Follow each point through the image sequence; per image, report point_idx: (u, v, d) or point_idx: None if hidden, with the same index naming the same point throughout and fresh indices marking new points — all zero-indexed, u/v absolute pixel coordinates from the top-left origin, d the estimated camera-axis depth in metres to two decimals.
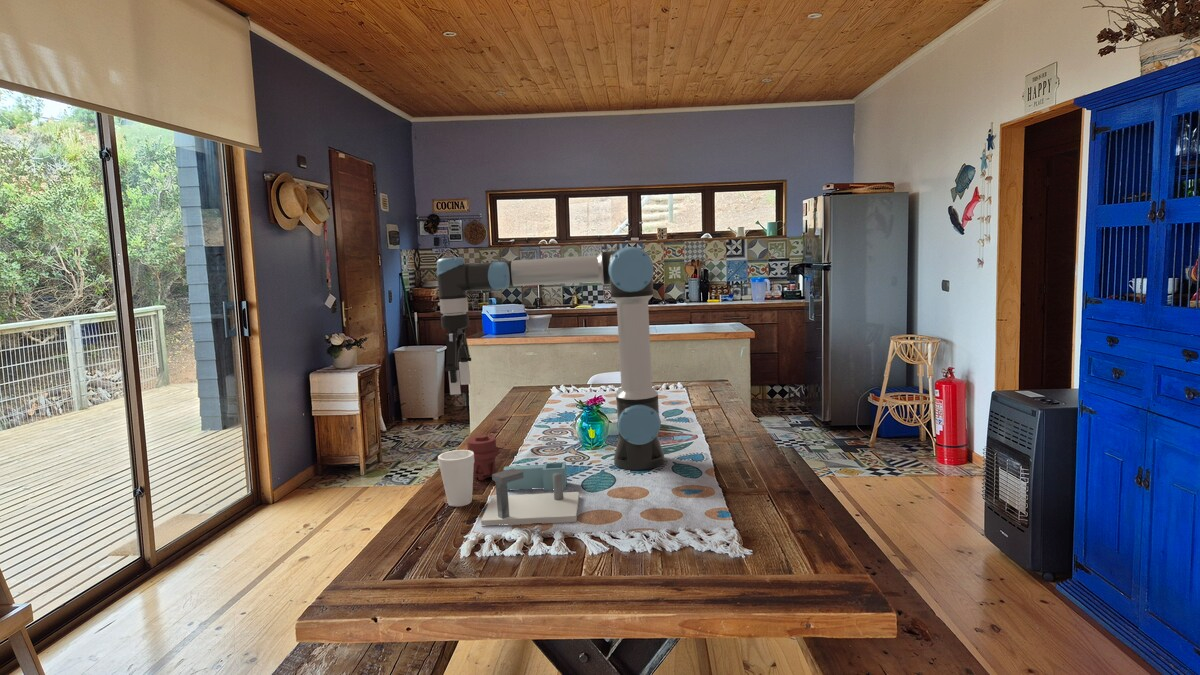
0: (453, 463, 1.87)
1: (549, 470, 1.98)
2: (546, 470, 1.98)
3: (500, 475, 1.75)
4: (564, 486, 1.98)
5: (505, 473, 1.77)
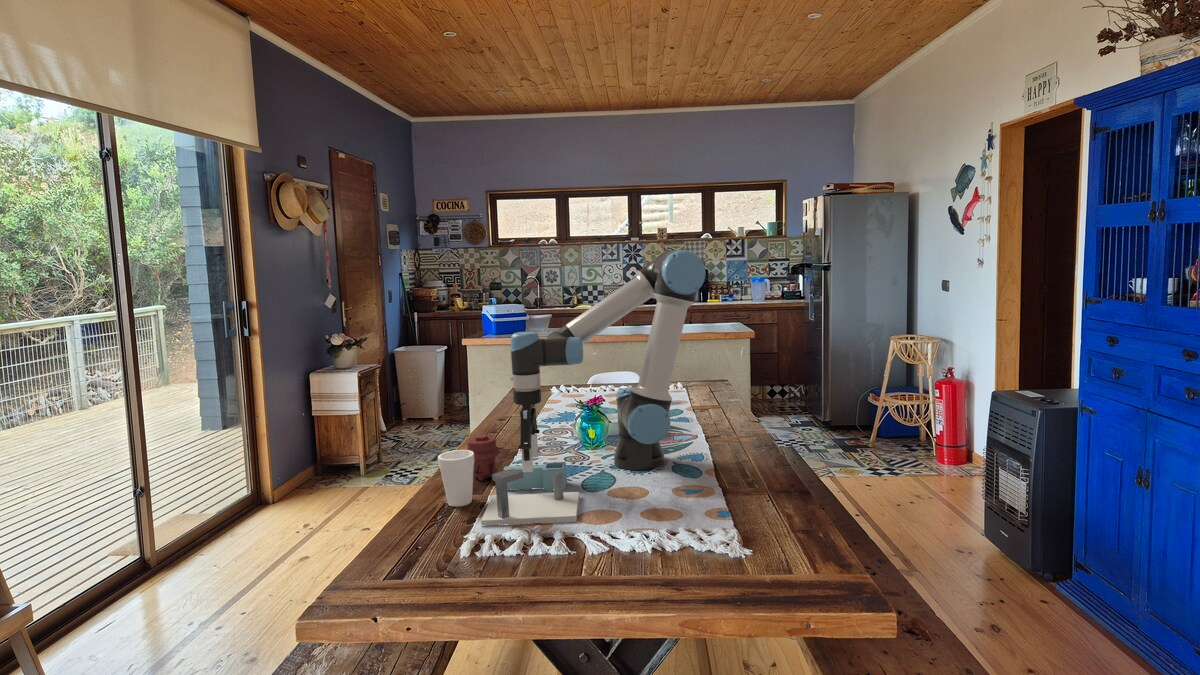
0: (453, 463, 1.87)
1: (549, 470, 1.98)
2: (546, 470, 1.98)
3: (500, 475, 1.75)
4: (564, 486, 1.98)
5: (505, 473, 1.77)
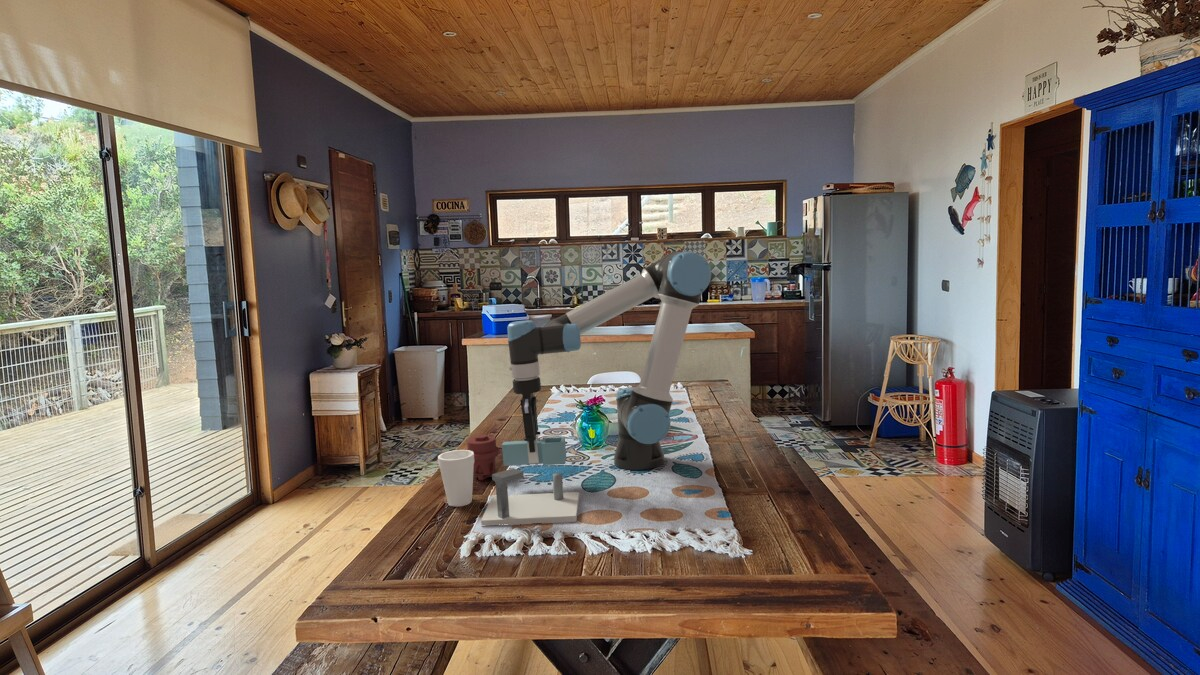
0: (453, 463, 1.87)
1: (548, 444, 1.97)
2: (545, 444, 1.97)
3: (500, 475, 1.75)
4: (563, 460, 1.98)
5: (505, 473, 1.77)
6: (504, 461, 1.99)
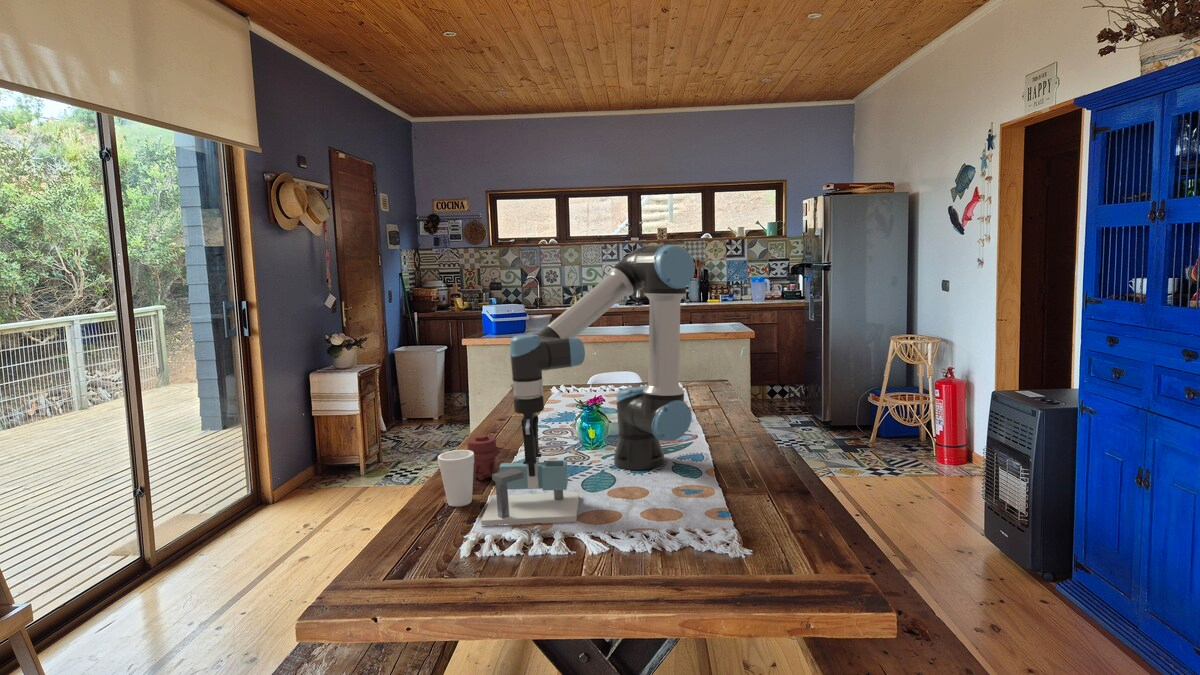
0: (453, 463, 1.87)
1: (549, 468, 1.83)
2: (546, 468, 1.83)
3: (500, 475, 1.75)
4: (565, 486, 1.84)
5: (505, 473, 1.77)
6: None
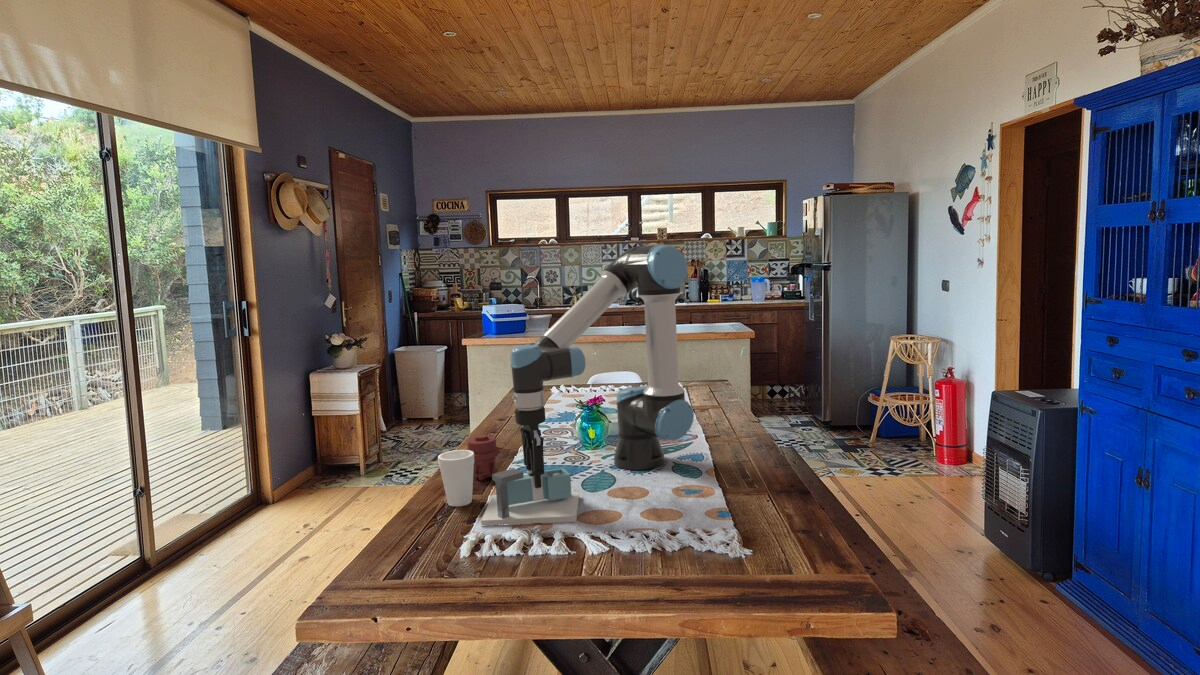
0: (453, 463, 1.87)
1: (555, 477, 1.83)
2: (551, 478, 1.83)
3: (500, 475, 1.75)
4: (570, 493, 1.85)
5: (505, 473, 1.77)
6: None
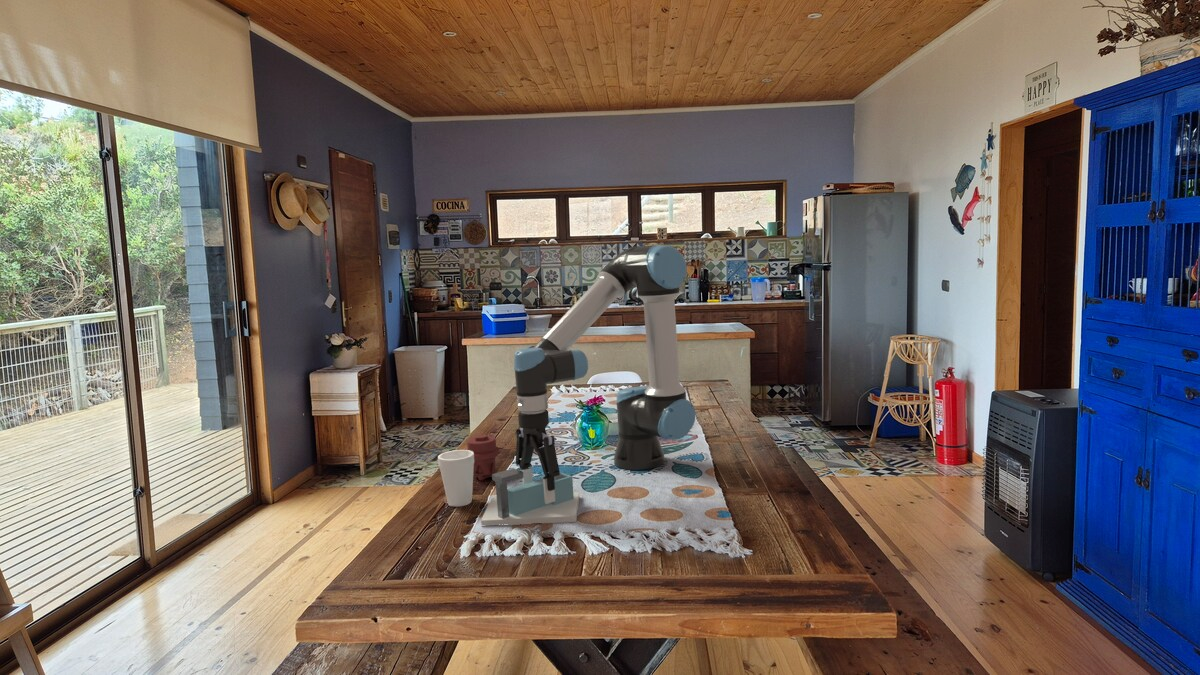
0: (453, 463, 1.87)
1: (559, 481, 1.83)
2: (556, 482, 1.83)
3: (500, 475, 1.75)
4: (572, 495, 1.86)
5: (505, 473, 1.77)
6: (515, 510, 1.77)
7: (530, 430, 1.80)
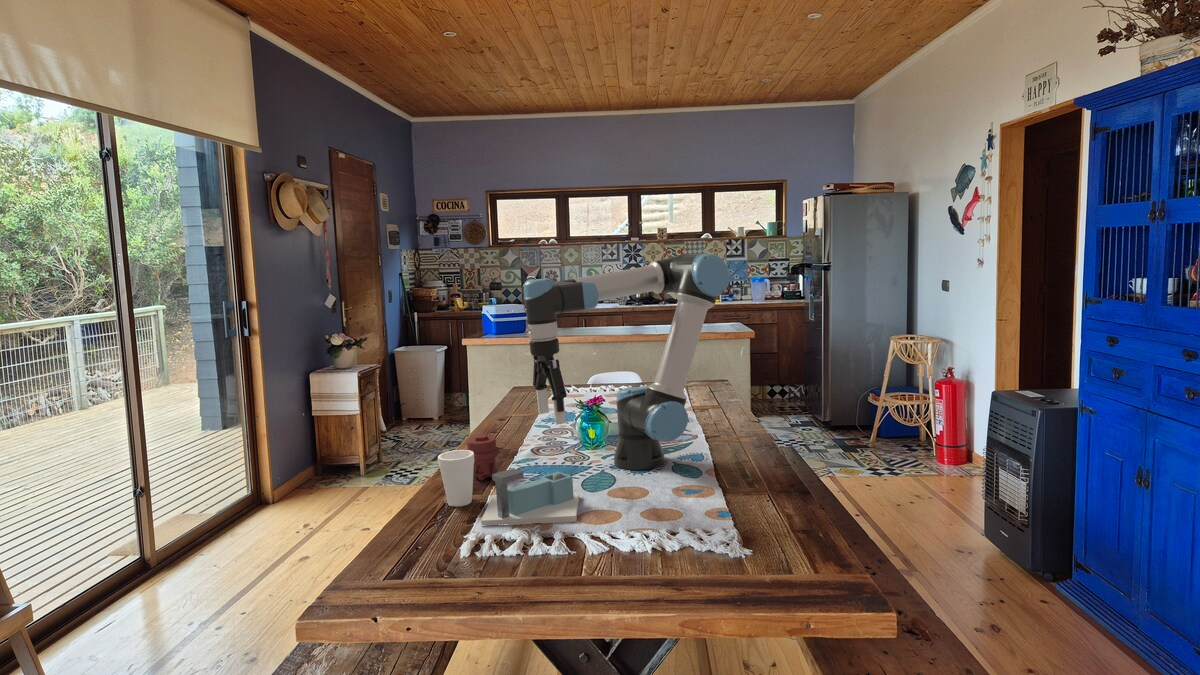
0: (453, 463, 1.87)
1: (559, 481, 1.83)
2: (556, 482, 1.83)
3: (500, 475, 1.75)
4: (572, 495, 1.86)
5: (505, 473, 1.77)
6: (515, 510, 1.77)
7: (541, 360, 1.88)
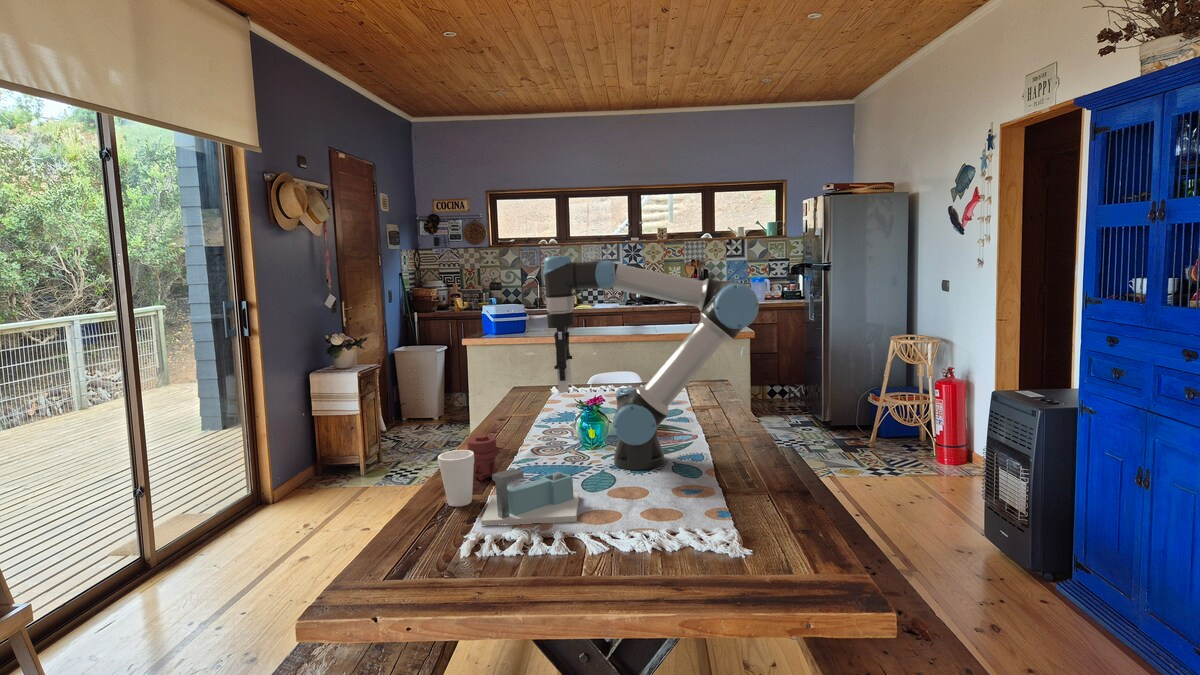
0: (453, 463, 1.87)
1: (559, 481, 1.83)
2: (556, 482, 1.83)
3: (500, 475, 1.75)
4: (572, 495, 1.86)
5: (505, 473, 1.77)
6: (515, 510, 1.77)
7: None
